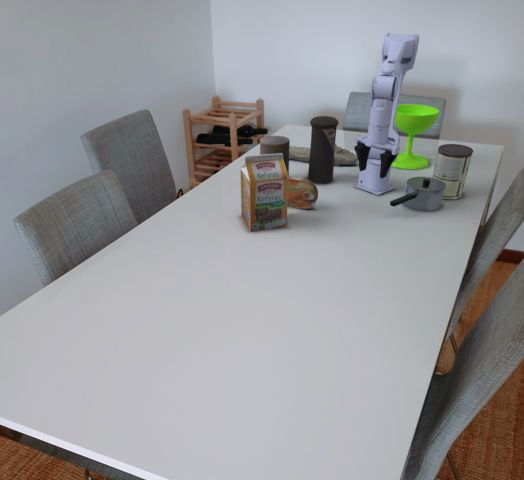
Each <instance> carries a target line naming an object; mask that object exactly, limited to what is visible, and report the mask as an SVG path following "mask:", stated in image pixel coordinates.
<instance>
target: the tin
mask: <svg viewBox="0 0 524 480" xmlns="http://www.w3.org/2000/svg"><path fill="white" fill-rule="evenodd" d="M318 198H319V190H318V187H317V185H316V183H313V182H311V181H309V180H308V179H305V178H300V177H293V176H289V177H288V201H287V207H290V208H296V209H301V210H307V209H308V210H309V209H310V208H312V207H313V206H314V205H315V204H316V202H317V201H318Z"/></svg>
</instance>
